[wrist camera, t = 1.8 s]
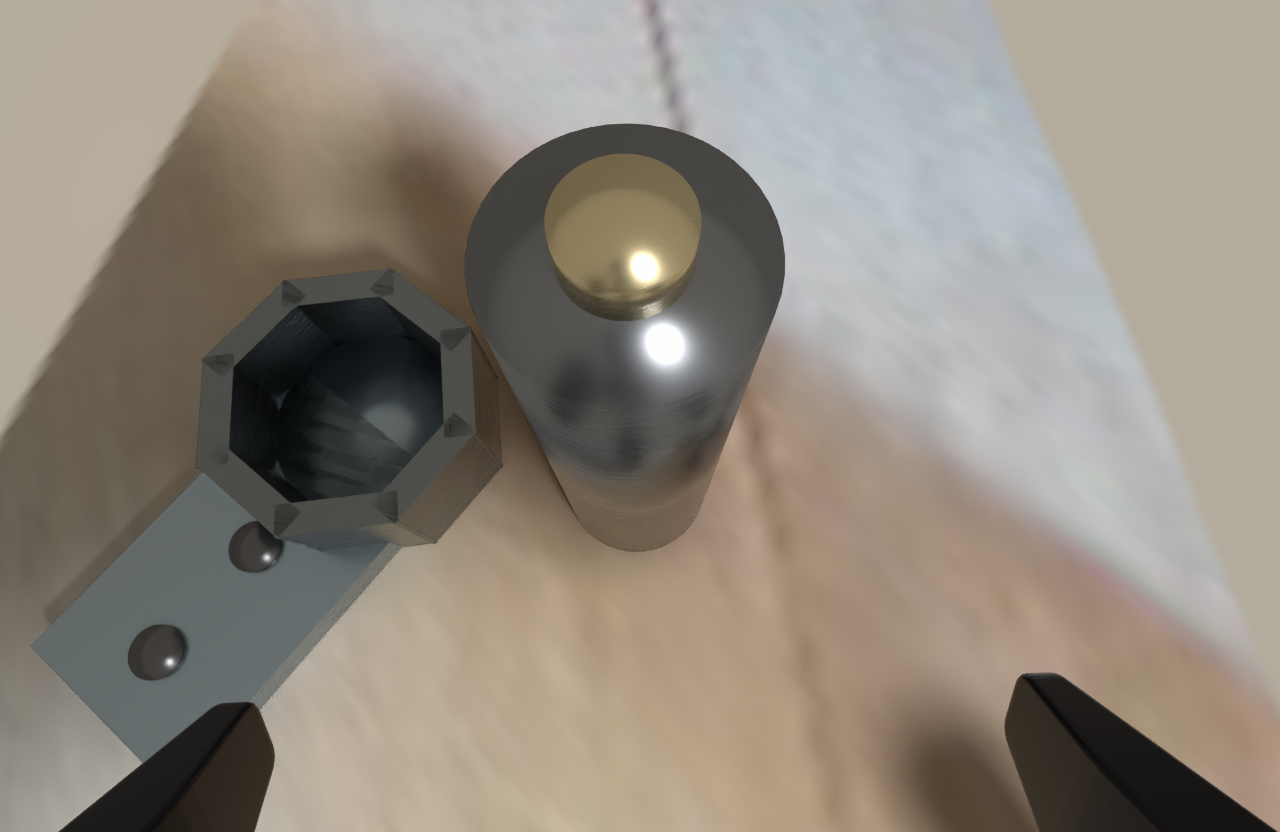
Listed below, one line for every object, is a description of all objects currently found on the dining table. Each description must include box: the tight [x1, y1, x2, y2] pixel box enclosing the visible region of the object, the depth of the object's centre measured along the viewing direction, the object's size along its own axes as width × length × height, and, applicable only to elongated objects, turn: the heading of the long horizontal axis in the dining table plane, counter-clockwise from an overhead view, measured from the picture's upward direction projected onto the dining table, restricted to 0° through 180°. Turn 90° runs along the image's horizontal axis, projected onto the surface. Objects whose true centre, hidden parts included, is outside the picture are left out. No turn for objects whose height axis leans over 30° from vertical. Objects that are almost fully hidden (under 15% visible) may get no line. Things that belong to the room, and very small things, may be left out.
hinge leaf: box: [31, 268, 503, 763], centre depth 19 cm, size 14×7×4 cm, turn 142°
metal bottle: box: [465, 124, 785, 552], centre depth 15 cm, size 4×4×14 cm
